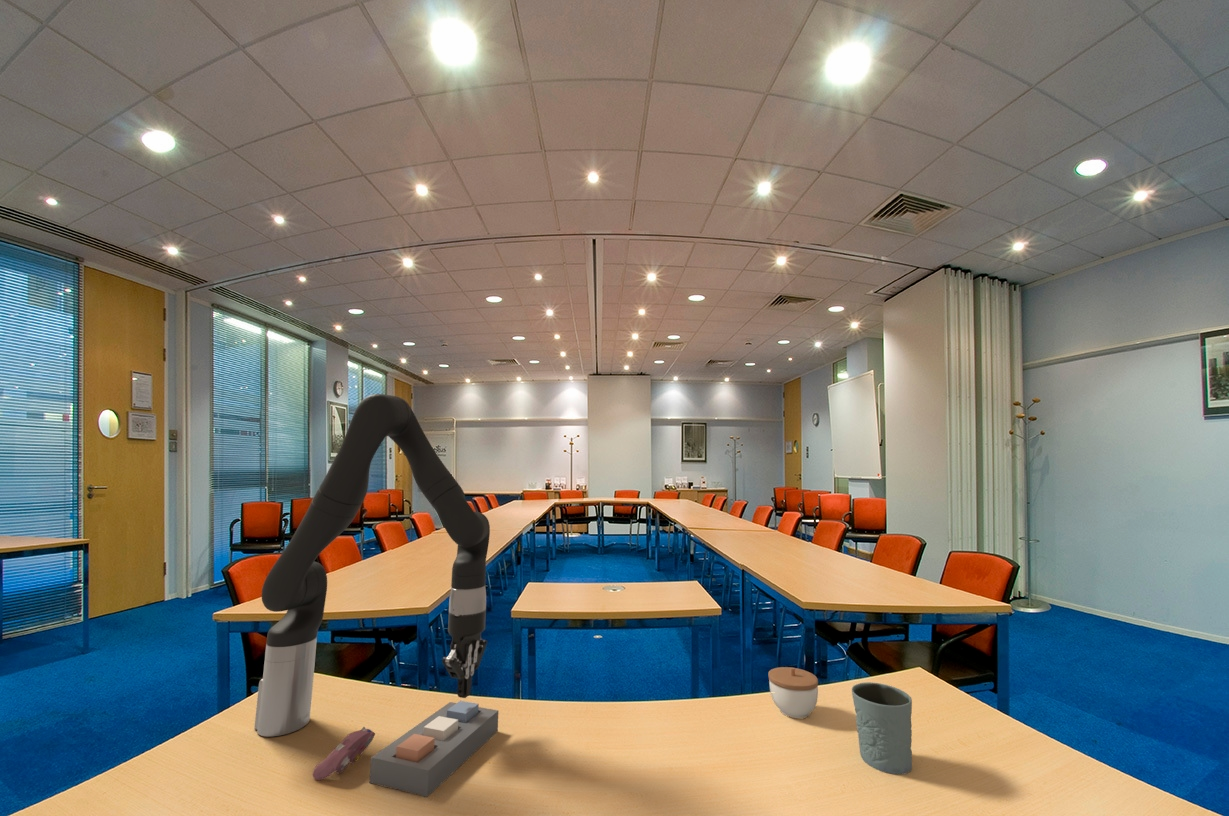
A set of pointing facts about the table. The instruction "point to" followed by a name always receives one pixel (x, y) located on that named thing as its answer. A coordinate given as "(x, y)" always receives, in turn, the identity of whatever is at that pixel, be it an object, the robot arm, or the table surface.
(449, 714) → the slate blue key
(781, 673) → the lidded jar
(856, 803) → the table surface
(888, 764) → the grey embossed vase
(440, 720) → the off-white key
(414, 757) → the terracotta key
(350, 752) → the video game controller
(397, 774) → the key console
